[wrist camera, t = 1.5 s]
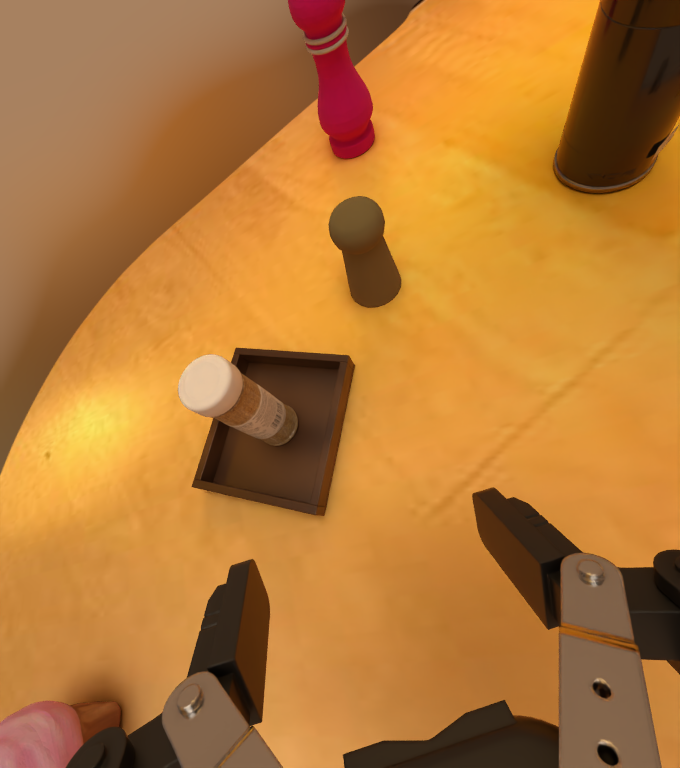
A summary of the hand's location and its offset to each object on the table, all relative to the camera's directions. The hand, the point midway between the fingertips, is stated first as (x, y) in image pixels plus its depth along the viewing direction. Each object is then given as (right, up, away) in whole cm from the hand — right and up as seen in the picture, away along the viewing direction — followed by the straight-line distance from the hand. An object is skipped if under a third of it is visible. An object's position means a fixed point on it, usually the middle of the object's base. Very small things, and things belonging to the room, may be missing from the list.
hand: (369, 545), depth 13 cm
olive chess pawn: (+3, +17, +29) cm, 34 cm away
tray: (-7, +1, +26) cm, 27 cm away
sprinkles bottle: (-7, +1, +26) cm, 27 cm away
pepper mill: (+1, +40, +39) cm, 56 cm away
